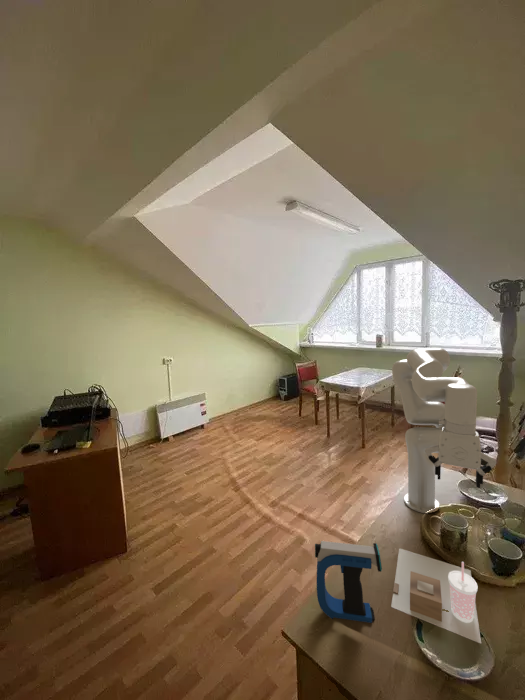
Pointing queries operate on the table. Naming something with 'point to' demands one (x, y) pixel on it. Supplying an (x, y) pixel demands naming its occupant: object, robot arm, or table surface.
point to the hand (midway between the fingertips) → (457, 481)
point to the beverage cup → (462, 595)
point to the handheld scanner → (346, 578)
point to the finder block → (425, 596)
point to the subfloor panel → (440, 572)
